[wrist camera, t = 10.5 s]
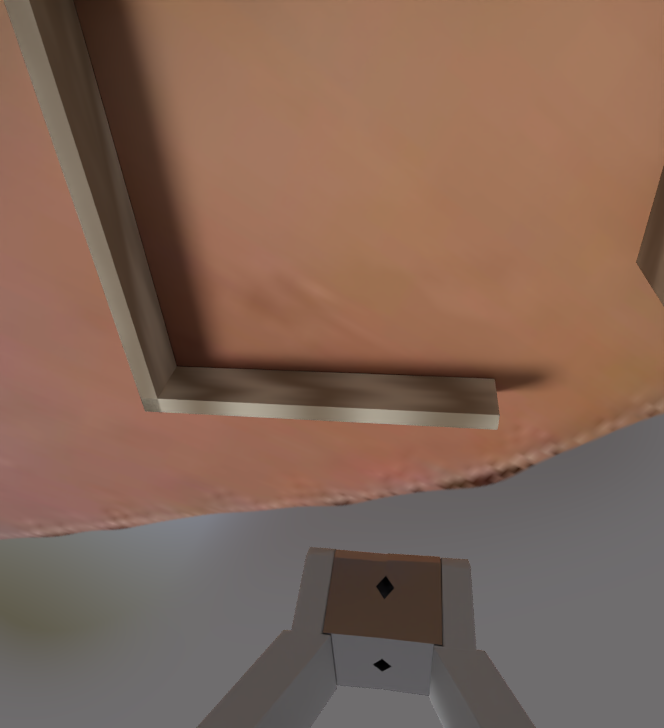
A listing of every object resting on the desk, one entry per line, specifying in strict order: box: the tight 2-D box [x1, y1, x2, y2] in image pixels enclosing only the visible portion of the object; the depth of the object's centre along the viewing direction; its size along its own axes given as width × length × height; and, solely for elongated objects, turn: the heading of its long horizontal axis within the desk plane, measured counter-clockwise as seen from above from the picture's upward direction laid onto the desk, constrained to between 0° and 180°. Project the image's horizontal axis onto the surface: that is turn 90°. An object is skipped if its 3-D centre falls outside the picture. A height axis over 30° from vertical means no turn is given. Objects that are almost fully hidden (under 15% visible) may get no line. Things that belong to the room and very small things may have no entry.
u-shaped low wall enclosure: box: [4, 0, 500, 430], centre depth 26 cm, size 20×21×3 cm
